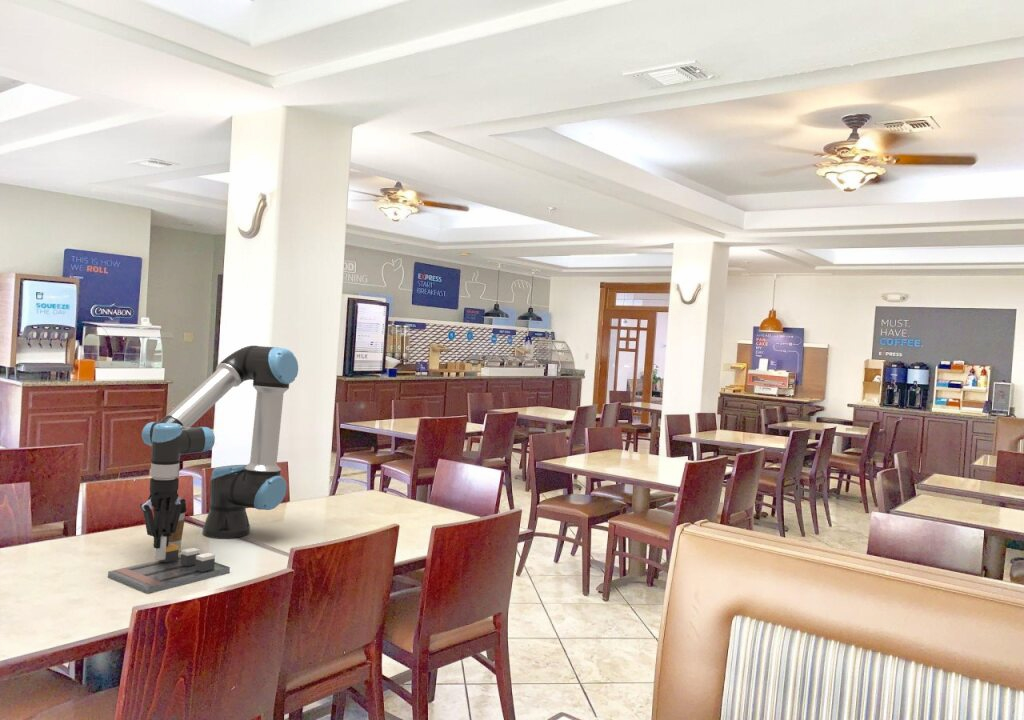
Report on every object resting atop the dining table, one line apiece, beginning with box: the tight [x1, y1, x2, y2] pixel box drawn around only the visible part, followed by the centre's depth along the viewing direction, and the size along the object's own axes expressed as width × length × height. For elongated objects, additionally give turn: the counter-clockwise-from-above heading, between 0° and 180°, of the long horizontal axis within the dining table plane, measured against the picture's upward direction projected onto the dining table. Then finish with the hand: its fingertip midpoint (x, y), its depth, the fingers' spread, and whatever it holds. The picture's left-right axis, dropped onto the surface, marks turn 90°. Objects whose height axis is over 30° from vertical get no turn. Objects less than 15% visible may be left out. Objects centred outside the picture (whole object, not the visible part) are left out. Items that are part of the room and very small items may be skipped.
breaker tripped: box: [160, 544, 180, 563], centre depth 222 cm, size 4×3×4 cm
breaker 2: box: [195, 552, 216, 572], centre depth 216 cm, size 4×3×4 cm
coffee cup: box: [168, 502, 187, 552], centre depth 237 cm, size 8×8×15 cm
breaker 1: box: [180, 547, 201, 566], centre depth 220 cm, size 4×3×4 cm
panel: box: [107, 555, 231, 595], centre depth 215 cm, size 25×19×2 cm
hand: (160, 558), depth 220 cm, fingers closed
